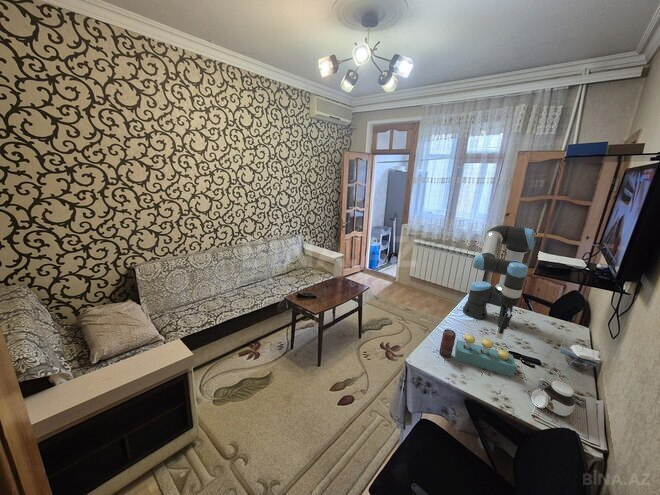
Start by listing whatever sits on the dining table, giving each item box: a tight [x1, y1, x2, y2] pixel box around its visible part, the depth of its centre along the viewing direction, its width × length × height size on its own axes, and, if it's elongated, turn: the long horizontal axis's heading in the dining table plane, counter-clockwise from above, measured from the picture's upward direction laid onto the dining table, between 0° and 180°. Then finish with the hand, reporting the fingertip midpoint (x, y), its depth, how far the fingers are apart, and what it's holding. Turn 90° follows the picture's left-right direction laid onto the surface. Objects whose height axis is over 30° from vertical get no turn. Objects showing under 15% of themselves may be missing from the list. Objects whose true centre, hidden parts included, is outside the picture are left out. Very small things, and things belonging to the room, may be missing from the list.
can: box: [438, 328, 457, 359], centre depth 141 cm, size 6×6×14 cm
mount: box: [454, 339, 517, 378], centre depth 138 cm, size 10×26×6 cm, turn 65°
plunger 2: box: [497, 349, 511, 361], centre depth 134 cm, size 5×5×8 cm
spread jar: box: [530, 380, 576, 417], centre depth 112 cm, size 12×11×12 cm
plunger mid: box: [481, 338, 494, 355], centre depth 136 cm, size 5×5×8 cm
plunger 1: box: [464, 333, 476, 350], centre depth 139 cm, size 5×5×8 cm
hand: (498, 337), depth 132 cm, fingers closed
